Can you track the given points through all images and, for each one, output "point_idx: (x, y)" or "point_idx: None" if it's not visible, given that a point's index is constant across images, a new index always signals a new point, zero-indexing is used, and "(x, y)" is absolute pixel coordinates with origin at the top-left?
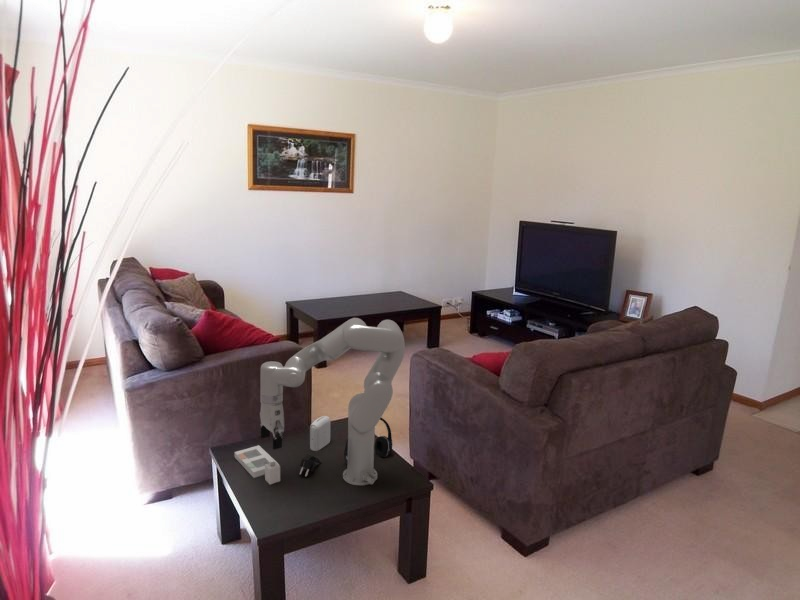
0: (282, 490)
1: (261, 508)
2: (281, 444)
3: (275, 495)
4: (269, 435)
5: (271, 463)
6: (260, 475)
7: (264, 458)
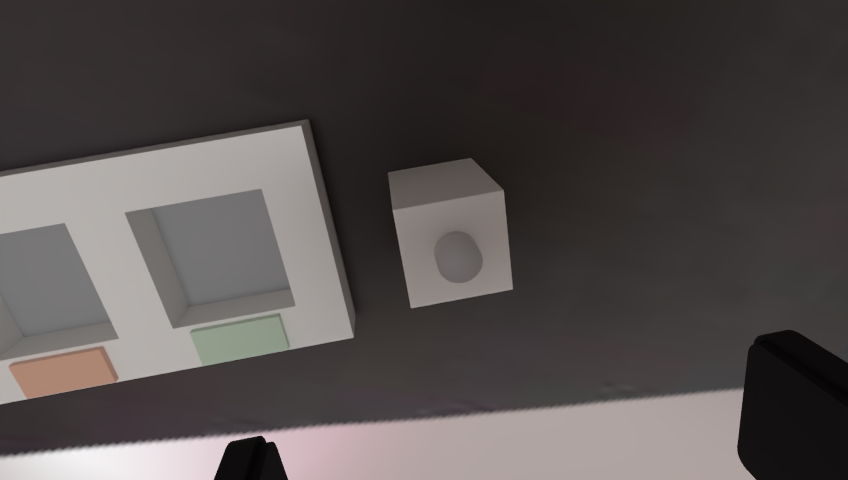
0: (588, 176)
1: (689, 331)
2: (837, 366)
3: (617, 233)
4: (269, 453)
5: (468, 274)
6: (344, 271)
7: (130, 212)
